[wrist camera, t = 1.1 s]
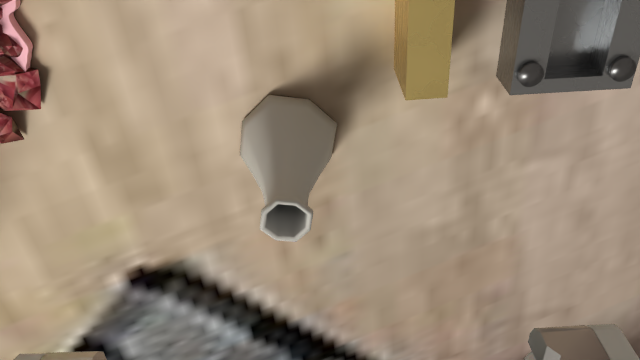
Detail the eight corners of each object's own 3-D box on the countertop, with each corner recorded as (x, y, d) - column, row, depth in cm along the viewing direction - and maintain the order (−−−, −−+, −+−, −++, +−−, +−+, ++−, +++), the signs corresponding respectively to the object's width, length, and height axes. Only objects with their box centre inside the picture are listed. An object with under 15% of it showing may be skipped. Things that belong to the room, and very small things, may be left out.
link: (515, -60, 34) (535, -47, 32) (645, -68, 34) (676, -55, 32) (496, 76, 40) (511, 97, 37) (609, 69, 40) (633, 90, 37)
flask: (353, 116, 41) (368, 197, 33) (310, 189, 45) (314, 279, 36) (261, 77, 39) (253, 153, 31) (224, 157, 43) (207, 245, 34)
